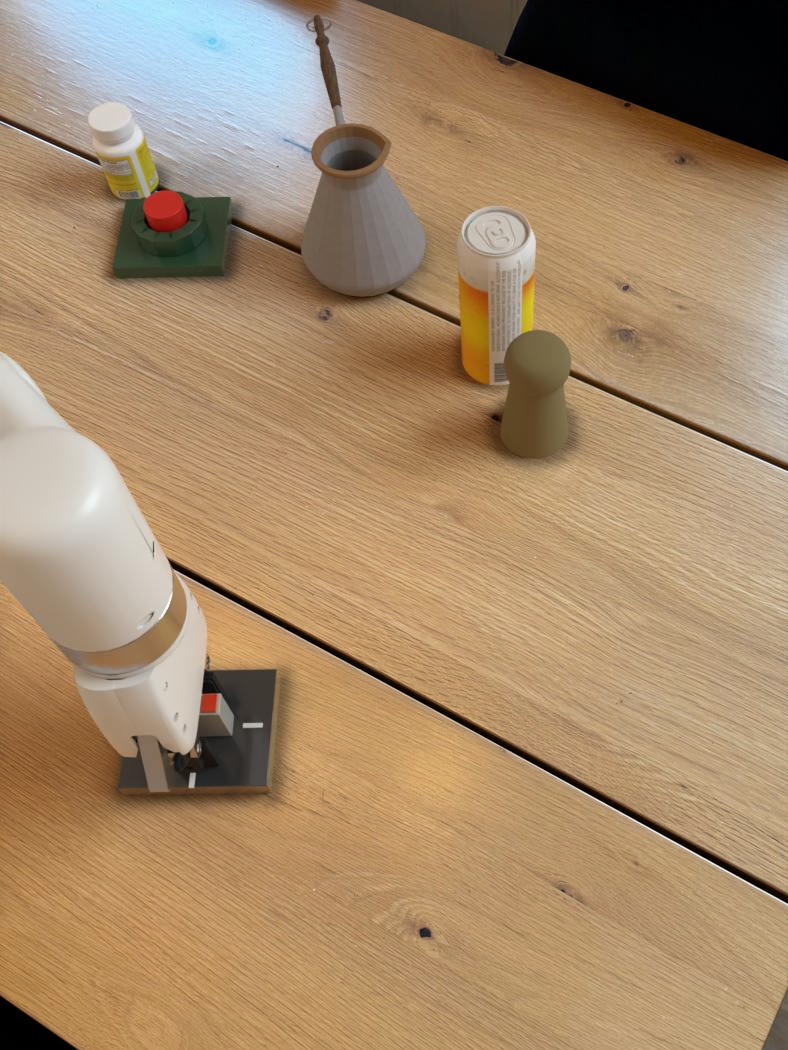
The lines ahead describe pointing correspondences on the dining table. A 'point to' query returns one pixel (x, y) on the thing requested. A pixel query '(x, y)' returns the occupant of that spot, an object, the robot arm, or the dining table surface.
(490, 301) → the beer can
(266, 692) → the rotary switch
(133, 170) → the supplement bottle
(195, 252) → the control block
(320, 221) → the coffee pot
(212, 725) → the hob knob
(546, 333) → the olive pawn
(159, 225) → the power button
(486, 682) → the dining table surface
